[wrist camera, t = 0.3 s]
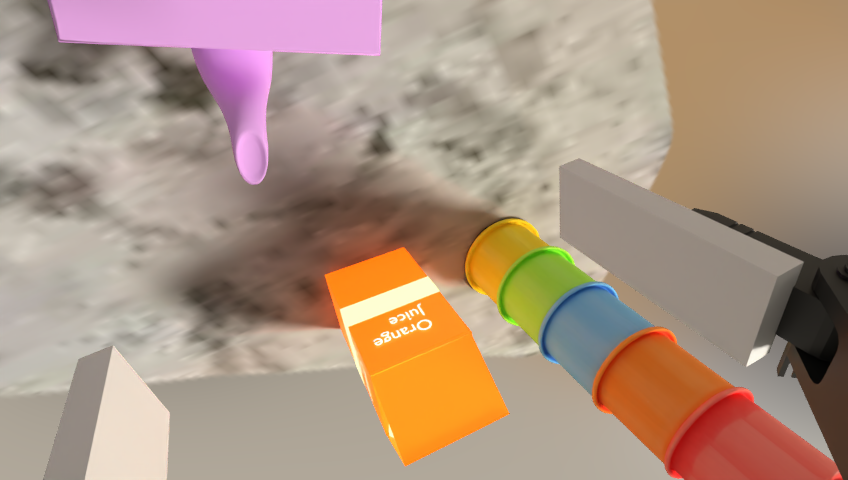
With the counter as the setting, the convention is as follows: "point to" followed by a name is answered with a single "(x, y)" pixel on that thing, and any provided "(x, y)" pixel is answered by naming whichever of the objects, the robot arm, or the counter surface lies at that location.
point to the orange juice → (413, 355)
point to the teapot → (229, 46)
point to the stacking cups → (635, 366)
